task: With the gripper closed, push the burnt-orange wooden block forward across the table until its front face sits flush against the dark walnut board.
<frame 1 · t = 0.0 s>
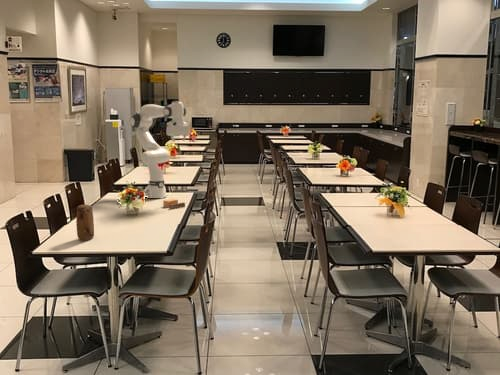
hand: (178, 141, 396), 48 cm above the table, tool pointing down, fingers open, 8 cm apart
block: (85, 239, 302), on the table
orange block: (170, 206, 391), on the table
walnut board: (177, 207, 386), on the table
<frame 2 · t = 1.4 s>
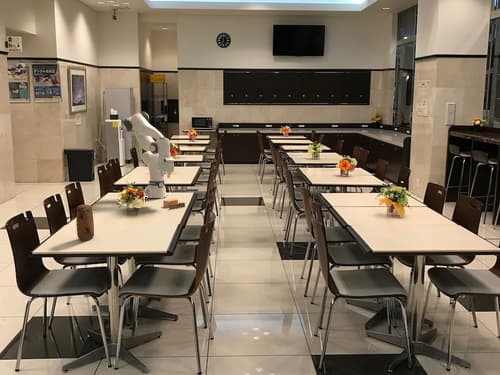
hand: (165, 177, 394), 21 cm above the table, tool pointing down, fingers open, 8 cm apart
nothing on the table moved.
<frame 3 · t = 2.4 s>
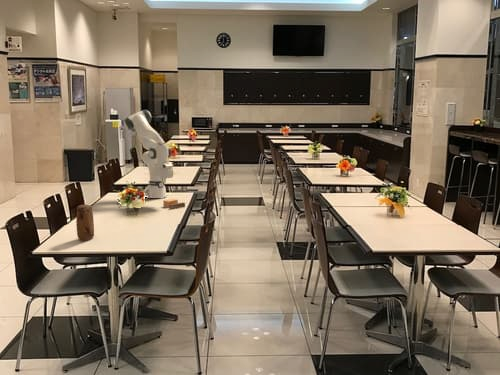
hand: (163, 182, 394), 17 cm above the table, tool pointing down, fingers closed
nothing on the table moved.
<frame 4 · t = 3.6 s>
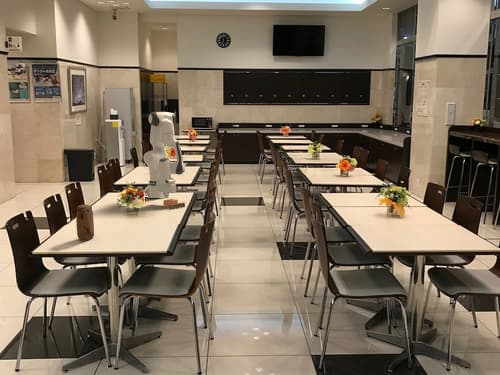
hand: (166, 198, 395), 5 cm above the table, tool pointing down, fingers closed
nothing on the table moved.
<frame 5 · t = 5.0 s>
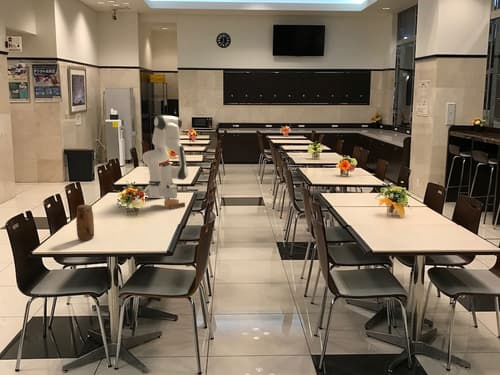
hand: (167, 202, 393), 2 cm above the table, tool pointing down, fingers closed
orange block: (171, 206, 390), on the table, touching gripper
everything else where it was.
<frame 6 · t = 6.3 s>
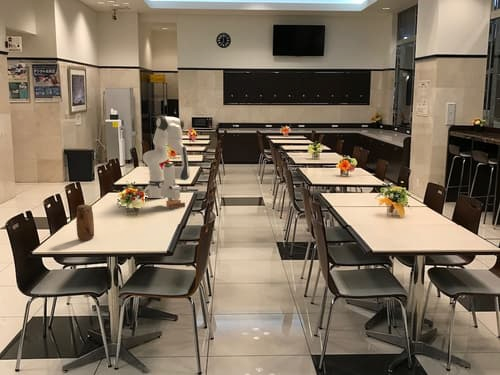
hand: (170, 203, 391), 2 cm above the table, tool pointing down, fingers closed, pressing on orange block
orange block: (173, 207, 389), on the table, touching gripper, walnut board
everything else where it was.
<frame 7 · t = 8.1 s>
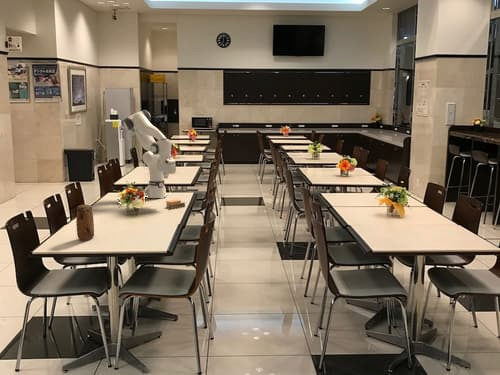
hand: (165, 178, 391), 21 cm above the table, tool pointing down, fingers closed
orange block: (173, 207, 389), on the table
everything else where it was.
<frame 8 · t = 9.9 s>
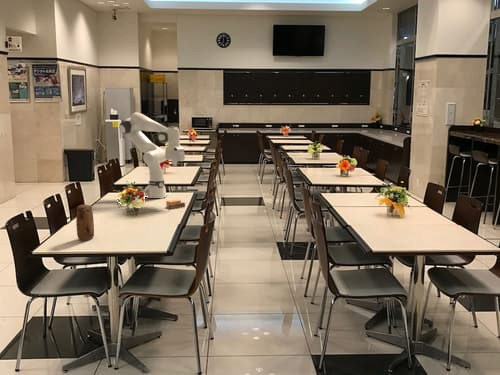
hand: (174, 166, 397), 29 cm above the table, tool pointing down, fingers closed
nothing on the table moved.
at the end: orange block 0.1 cm from the target spot on the table beside the walnut board, on the table; orange block tilted 0° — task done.
